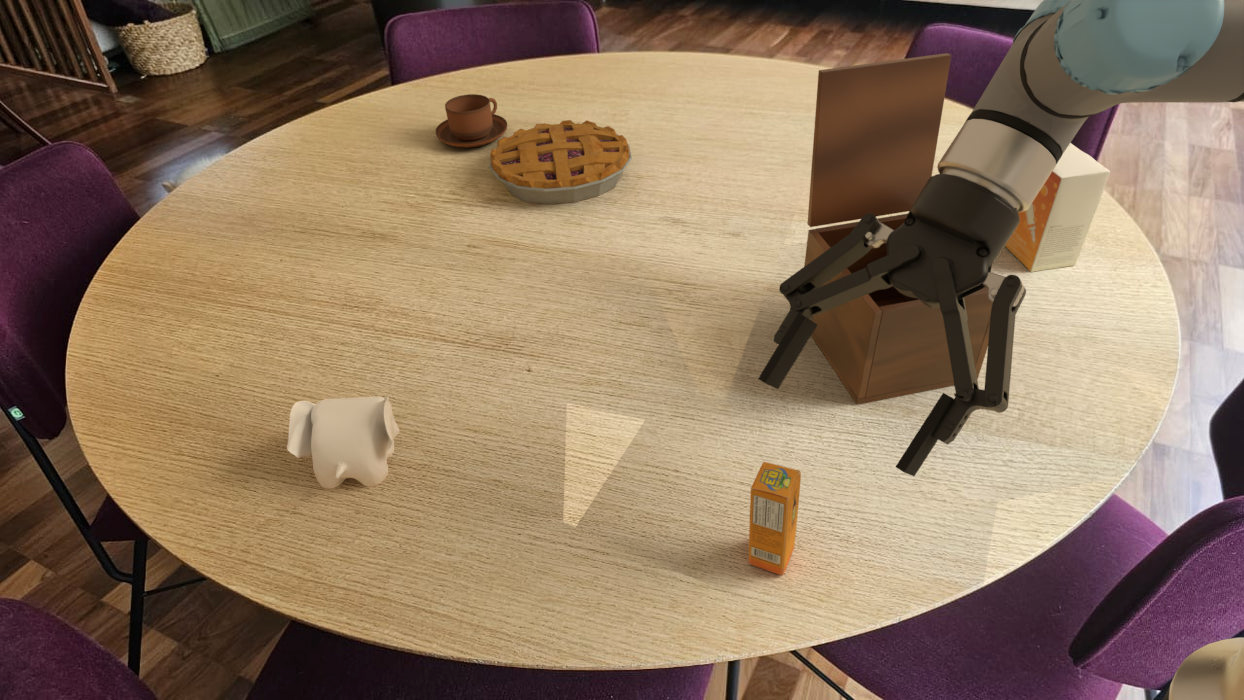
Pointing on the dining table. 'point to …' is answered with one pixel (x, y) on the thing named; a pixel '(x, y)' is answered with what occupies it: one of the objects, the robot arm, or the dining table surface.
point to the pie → (560, 162)
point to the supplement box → (773, 517)
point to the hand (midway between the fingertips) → (831, 425)
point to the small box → (1060, 213)
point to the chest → (889, 331)
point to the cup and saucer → (471, 122)
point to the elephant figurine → (344, 438)
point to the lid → (875, 137)
